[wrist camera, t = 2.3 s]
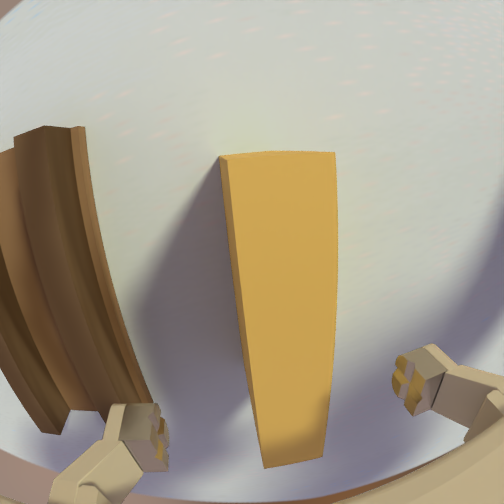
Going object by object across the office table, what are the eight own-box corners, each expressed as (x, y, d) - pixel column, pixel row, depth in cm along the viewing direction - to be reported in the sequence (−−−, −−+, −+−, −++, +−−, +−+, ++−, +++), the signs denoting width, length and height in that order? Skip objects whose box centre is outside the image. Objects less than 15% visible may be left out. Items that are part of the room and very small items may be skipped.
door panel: (272, 150, 16) (335, 152, 8) (285, 357, 21) (322, 456, 13) (218, 155, 16) (227, 159, 8) (244, 363, 21) (264, 468, 12)
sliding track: (85, 127, 14) (53, 122, 11) (153, 402, 21) (147, 440, 17) (-28, 167, 13) (-65, 175, 10) (51, 400, 20) (37, 431, 16)
